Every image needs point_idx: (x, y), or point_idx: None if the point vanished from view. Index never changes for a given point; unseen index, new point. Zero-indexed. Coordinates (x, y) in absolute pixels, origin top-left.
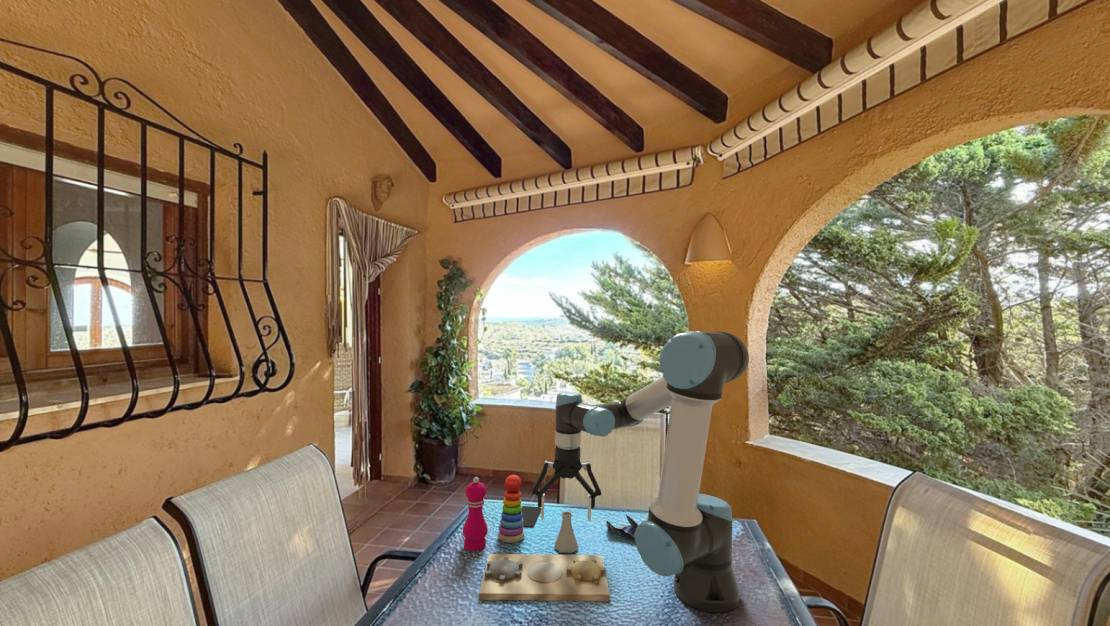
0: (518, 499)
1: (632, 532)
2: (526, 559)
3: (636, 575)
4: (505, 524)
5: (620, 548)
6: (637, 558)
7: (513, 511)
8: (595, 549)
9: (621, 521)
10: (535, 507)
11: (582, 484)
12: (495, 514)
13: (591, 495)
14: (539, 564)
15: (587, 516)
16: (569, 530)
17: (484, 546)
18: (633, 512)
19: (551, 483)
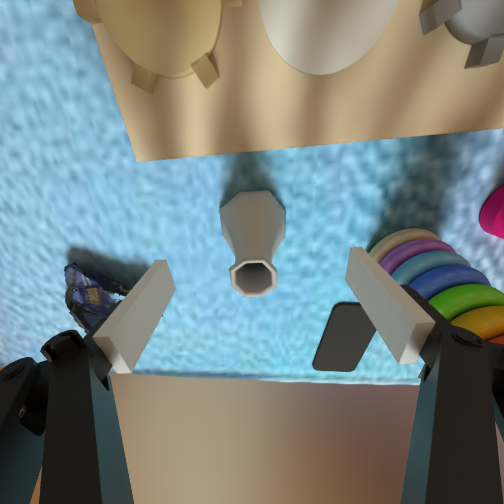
0: None
1: (102, 301)
2: (389, 98)
3: (10, 71)
4: (462, 257)
5: (111, 232)
6: (49, 185)
7: (472, 290)
8: (174, 221)
9: None
10: (325, 368)
11: (86, 461)
12: None
13: (78, 355)
14: (349, 48)
15: (174, 288)
16: (242, 232)
17: (492, 198)
18: None
19: (442, 462)
